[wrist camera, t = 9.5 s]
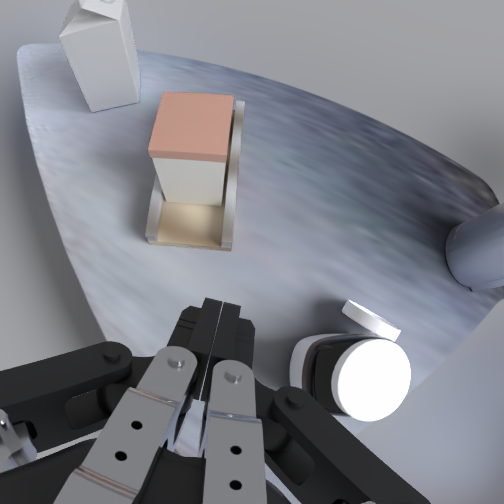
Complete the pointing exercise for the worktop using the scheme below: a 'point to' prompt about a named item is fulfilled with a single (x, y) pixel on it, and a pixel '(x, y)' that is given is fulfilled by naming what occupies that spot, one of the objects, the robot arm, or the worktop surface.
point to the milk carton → (102, 52)
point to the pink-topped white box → (191, 146)
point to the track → (199, 206)
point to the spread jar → (354, 368)
